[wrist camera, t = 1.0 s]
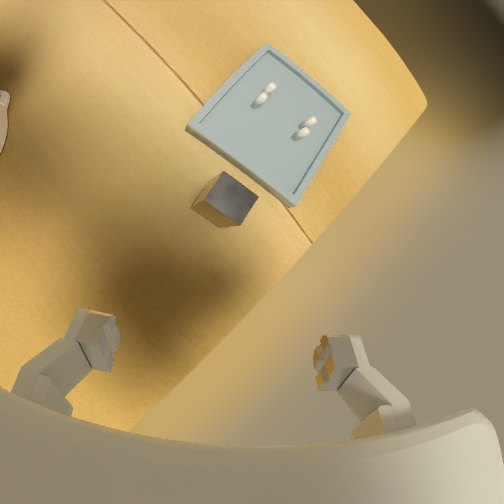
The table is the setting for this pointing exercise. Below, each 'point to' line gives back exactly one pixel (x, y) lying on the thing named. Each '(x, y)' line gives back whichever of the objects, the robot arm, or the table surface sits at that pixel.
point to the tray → (271, 123)
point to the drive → (224, 201)
